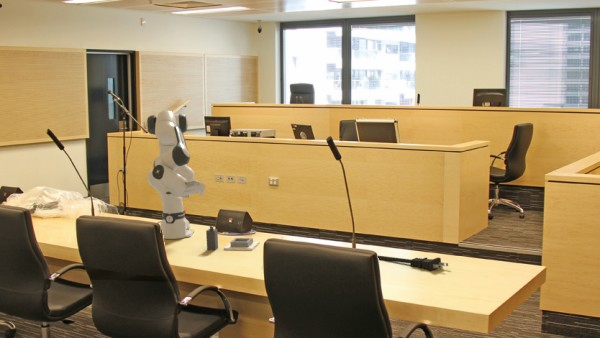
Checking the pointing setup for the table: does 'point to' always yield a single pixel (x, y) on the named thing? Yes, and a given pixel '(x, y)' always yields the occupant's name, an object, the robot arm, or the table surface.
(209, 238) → the dark grey square bottle
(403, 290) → the table surface
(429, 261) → the electrical plug
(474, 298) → the table surface
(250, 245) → the socket
